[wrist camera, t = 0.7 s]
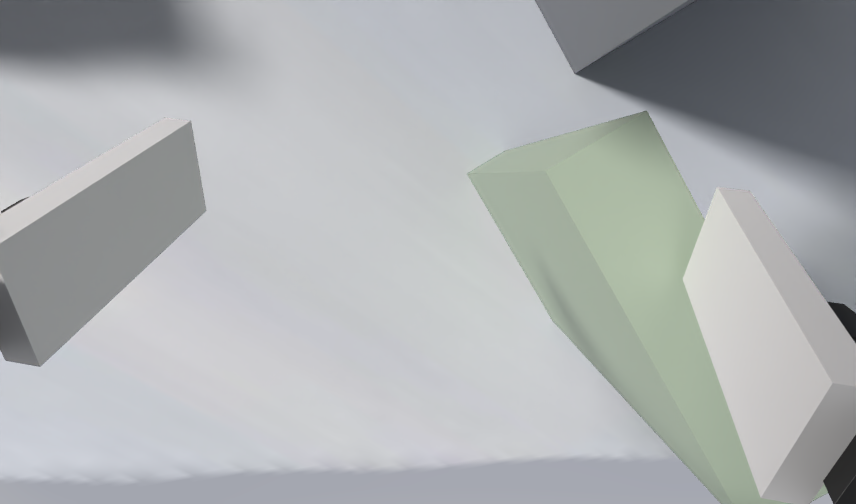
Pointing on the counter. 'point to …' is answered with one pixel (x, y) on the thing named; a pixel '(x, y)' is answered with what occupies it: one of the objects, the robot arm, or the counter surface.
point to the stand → (602, 24)
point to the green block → (623, 280)
